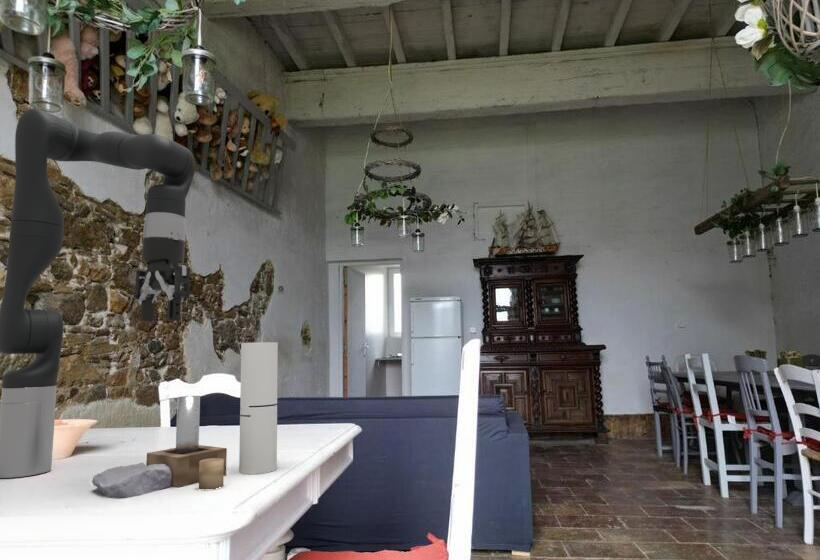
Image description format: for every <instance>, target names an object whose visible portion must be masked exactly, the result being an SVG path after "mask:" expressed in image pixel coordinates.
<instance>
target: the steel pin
mask: <svg viewBox="0 0 820 560" xmlns="http://www.w3.org/2000/svg"><path fill="white" fill-rule="evenodd" d="M176 401H177V403H176V404H177V405H176V428H175V429H176V431H175V448H176V454H181V455H184V454H189V453H194V452H199V445H200V415H201V414H200V413H201V395H183V396H177V400H176Z"/></svg>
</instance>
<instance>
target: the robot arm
mask: <svg viewBox="0 0 820 560" xmlns="http://www.w3.org/2000/svg"><path fill="white" fill-rule="evenodd" d="M14 137H15V138H14V154H15V155H14V156H15V158H14V159H15V160H14V161H15V180H14V181H15V182H14V193H13V194H14V195H13V208H12V212H11V217H10V218H11V220H10V228H9V238H8V252H7V253H8V256H7V265H6V267H7V268H6V277H5V280H4V281H5V283H4V288H3V293H2V299H1V302H0V303H1V305H0V352H1V353H2V354H5V355H6V354H7V355H8V354H9V355H16V354H17V355H18V354H19V355H21V354H22V355H25V354H27V355H28V354H29V355H32V354H36V356H35V357H36V358H35V359H34V361H33V362H31V363H30V364H28V365H26V366H24V367H22V368H19V369H16V370H12V371H9V372H7V373H5V374H4V375H3V377H2V383H1V397H0V399H1V400H0V478H1V479H2V478H3V479H9V478H10V479H11V478H22V477H29V476H34V475H40V474H45V473H48V472H50V471H51V470H52V462H53V450H54V437H55V436H54V435H55V433H54V432H55V421H56V420H55V419H56V417H55V416H56V403H57V402H56V401H57V384H58V376H59V372H60V363H61V353H62V352H61V351H62V345H63V339H64V319H63V316H62V314H60V312H59V311H57V310H54V309H53V310H51V309H33V308H32V309H30V308H29V309H27V308H25V303H26V299H27V297H28V294H29V292H30V289H31V288H32V287H33V285H34V283H35V282H36V281H37V279H38V278H39V277H40V276H41V275H42V273H44V272H45V271H46V270H47V269H48V268H49V266H51V264H52V263H53V262H54V261H55V259H56V258H57V257H58V256H59V254H60V252H61V251H62V248H63V239H64V229H65V217H64V216H65V215H64V213H63V211H62V207H61V205H60V204H59V201H58V200H57V197H56V195H55V193H54V190H53V189H52V187H51V183H50V181H49V175H48V159H49V160H53V161H57V162H95V163H101V164H106V165H109V166H115V167H119V168H123V169H130V170H135V171H136V170H137V171H140V170H145V169H147V170H149V171H153V172H156V173H157V174H160V175H162V176H164V177H163V181H162V184H154V185H152V186H150V187H149V188H148V190H147V194H146V209H145V218H144V222H143V235H142V248H141V249H142V251H141V260H142V261H143V263H146V264H147V267H146V269H137V270H136V275H135V285H134V286H135V287H134V294H133V295H134V296H133V297H134V299H135V300H138V301H139V302H140V303H141V304H140V305H141V306H140V322H145V323H151V322H153V321H154V312H155V311H154V310H155V303H154V302H155V300H156V298H157V297H158V295H160V294H161V293H162V291H163V292H164V293H165V294H166V296H167V299H168V301H167V308H166V309H167V311H166V312H167V313H166V320H167V321H170V322H178V321H180V317H181V309H182V308H181V307H182V306H181V305H182V302H183V301H184V299H185V298H189V297H190V292H191V290H190V289H191V288H190V286H191V283H190V282H191V268H190V266H187V265H181V264H183V263H184V262H185V252H186V251H185V250H186V249H185V248H186V246H185V245H186V219H185V218H186V199H187V196H188V194H189V191H190V188H191V184H192V182H193V179H194V176H195V172H196V160H195V157H194V154H193V152H192V151H191V150H190V149H189V148H187V147H185V146H183V145H182V144H180V143H178V142H176V141H174V140H172V139H170V138H168V137H166V136H163V135H160V134H156V133H155V134H154V133H148V134H146V133H145V134H132V133H127V132H120V131H103V132H101V133H96V132H93V131H89V130H86V129H83V128H82V127H78V125H75V124H73V123H71V122H70V121H68V120H67V119H64V118H62V117H59V116H57V115H54V114H52V113H50V112H48V111H45V110H42V109H41V108H32V107H31V108H28V109H27V110H25V111H24V112H23V113H22V114H21V115H20V117H19V119H18V122H17V124H16V129H15V135H14ZM182 285H183V287H182ZM182 288H183V290H182ZM141 290H142V292H141Z"/></svg>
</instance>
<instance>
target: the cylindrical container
mask: <svg viewBox="0 0 820 560" xmlns="http://www.w3.org/2000/svg"><path fill="white" fill-rule="evenodd" d="M240 344H241V346H240V347H241V348H240V400H239V403H240V404H239V406H240V407H239V412H240V413H239V415H240V416H239V456H238V457H239V458H238V459H239V460H238V464H239V465H238V468H239V469H238V473H239V474H243V475H262V474H261V473H263V474H267V472H268V473H272V472H275V471H276V470H277V469H278V466H277V465H278V462H277V461H278V371H279V370H278V366H279V365H278V363H279V362H278V360H279V358H278V357H279V356H278V355H279V354H278V351H279V350H278V349H279V346H278V345H279V343H278V342H276V341H275V342H273V341H271V342H268V341H267V342H266V341H265V342H263V341H262V342H257V341H256V342H241V343H240ZM271 471H272V472H271Z"/></svg>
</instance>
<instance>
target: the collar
mask: <svg viewBox="0 0 820 560" xmlns="http://www.w3.org/2000/svg"><path fill="white" fill-rule="evenodd" d="M227 457H228V454H227V447H219V446H211V445H202V444H199V452H194V453H189V454H184V455H181V454H176V447H172V448H167V449H162V450H157V451H156V450H155V451H152V452H151V451H150V452H147V453H146V464H145V465H146V466H148V465H153V464H165V465H166V466H168V467H170V470H171V475H172V479H171V486H170V487H173V486H174V487H175V488H182V487H186V486H189V484H190V485H193V483H194V484H197V482H198V483H199V461H201V460H204V459H210V458H223V459H224V476H223V477H225V476H227ZM185 485H186V486H185ZM181 486H182V487H181Z"/></svg>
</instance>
